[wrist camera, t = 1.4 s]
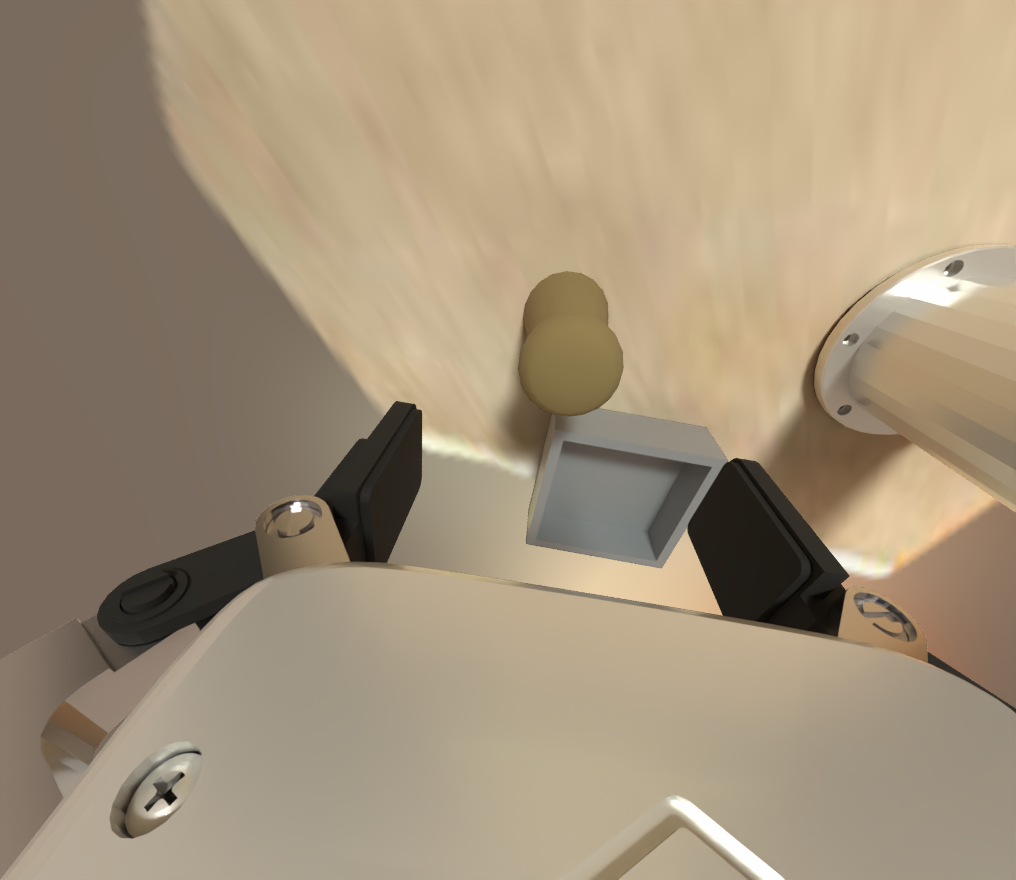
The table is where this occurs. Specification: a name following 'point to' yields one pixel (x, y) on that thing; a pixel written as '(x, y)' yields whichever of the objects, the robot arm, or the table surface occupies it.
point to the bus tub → (620, 485)
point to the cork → (569, 346)
